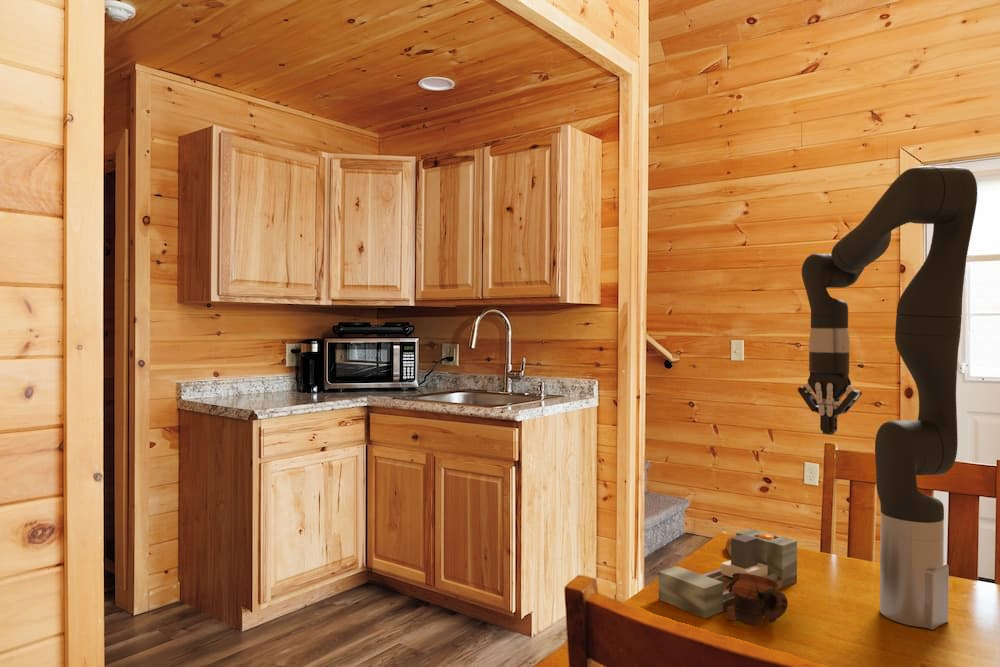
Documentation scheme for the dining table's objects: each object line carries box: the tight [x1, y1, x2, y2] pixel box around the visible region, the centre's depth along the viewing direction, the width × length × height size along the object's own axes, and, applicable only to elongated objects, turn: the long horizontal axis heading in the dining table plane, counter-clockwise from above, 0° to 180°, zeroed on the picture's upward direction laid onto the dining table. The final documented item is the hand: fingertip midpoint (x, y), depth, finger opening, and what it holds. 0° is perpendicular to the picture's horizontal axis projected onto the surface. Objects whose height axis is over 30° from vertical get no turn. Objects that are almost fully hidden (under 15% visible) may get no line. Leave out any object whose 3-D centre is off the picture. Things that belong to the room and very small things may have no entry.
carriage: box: [720, 534, 768, 578], centre depth 130 cm, size 6×6×7 cm
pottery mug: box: [726, 573, 789, 629], centre depth 115 cm, size 12×10×8 cm
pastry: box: [724, 535, 736, 557], centre depth 150 cm, size 9×7×4 cm
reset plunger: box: [758, 533, 774, 541], centre depth 134 cm, size 3×3×6 cm
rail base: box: [658, 528, 798, 619], centre depth 128 cm, size 10×28×8 cm, turn 126°
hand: (828, 433), depth 142 cm, fingers closed
